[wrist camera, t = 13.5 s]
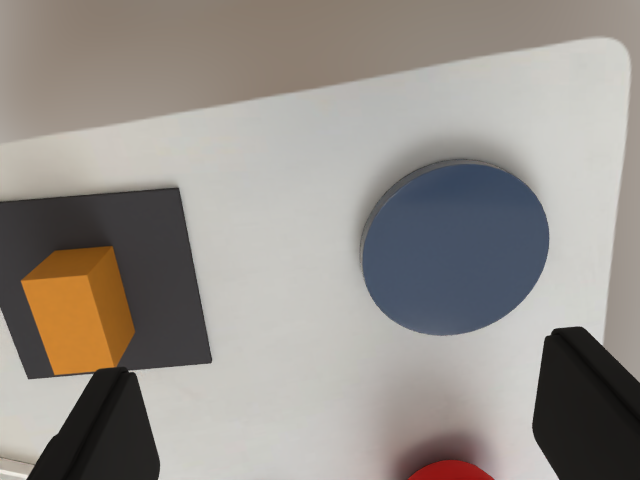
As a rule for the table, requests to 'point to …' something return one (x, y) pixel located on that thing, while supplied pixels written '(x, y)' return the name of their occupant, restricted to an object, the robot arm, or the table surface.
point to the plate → (454, 247)
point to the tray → (14, 470)
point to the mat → (134, 266)
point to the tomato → (450, 471)
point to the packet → (80, 309)
